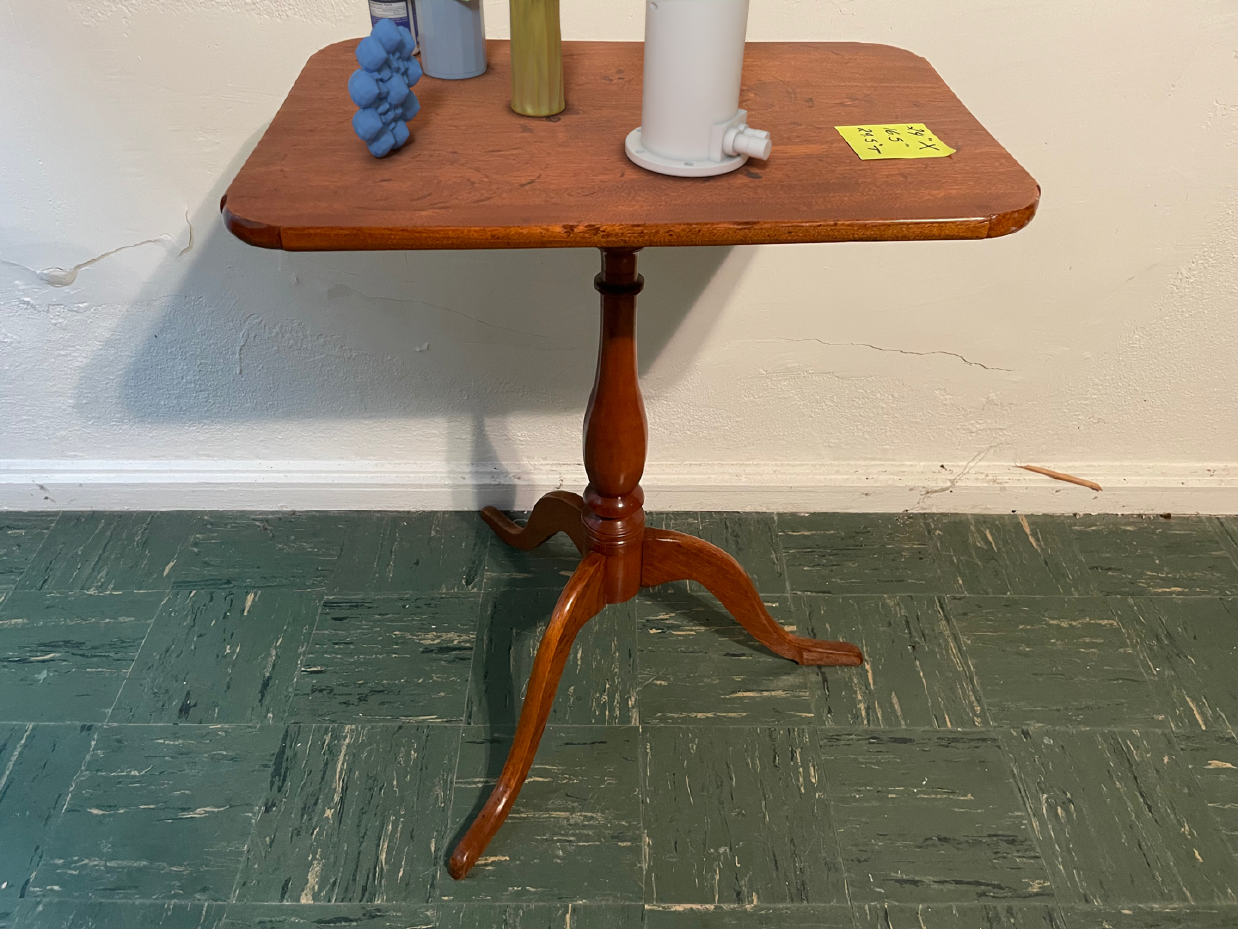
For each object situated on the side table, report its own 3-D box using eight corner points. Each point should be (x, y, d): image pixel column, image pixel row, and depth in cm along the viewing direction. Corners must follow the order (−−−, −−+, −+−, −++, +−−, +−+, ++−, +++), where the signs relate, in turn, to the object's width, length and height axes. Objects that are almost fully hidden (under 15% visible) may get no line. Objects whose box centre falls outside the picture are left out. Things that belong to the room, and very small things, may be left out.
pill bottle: (393, 42, 120) (382, -44, 114) (430, 49, 118) (421, -38, 112) (366, 54, 116) (353, -34, 110) (403, 61, 114) (392, -28, 108)
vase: (529, 121, 100) (523, -24, 91) (500, 104, 104) (492, -37, 95) (575, 110, 103) (575, -32, 94) (546, 94, 107) (542, -44, 97)
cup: (499, 66, 114) (495, -14, 108) (459, 83, 109) (452, 0, 103) (450, 54, 117) (443, -24, 111) (409, 71, 112) (399, -11, 106)
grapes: (386, 122, 99) (368, 1, 91) (443, 131, 97) (430, 8, 90) (326, 163, 90) (301, 33, 83) (388, 173, 89) (368, 42, 81)
